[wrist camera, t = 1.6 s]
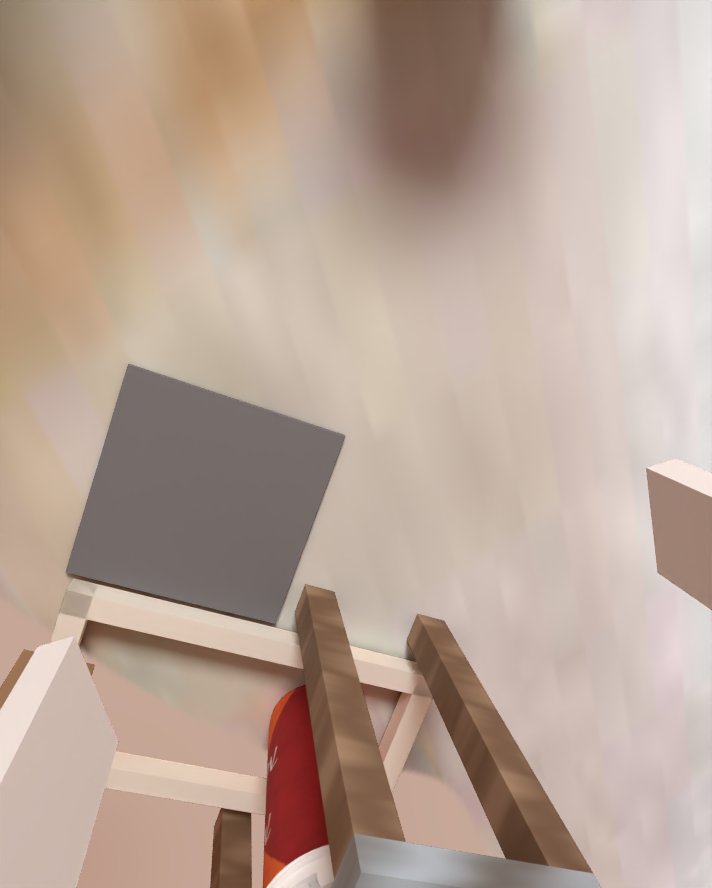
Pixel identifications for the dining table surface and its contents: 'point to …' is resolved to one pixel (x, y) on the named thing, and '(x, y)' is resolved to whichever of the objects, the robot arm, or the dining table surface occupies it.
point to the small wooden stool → (368, 791)
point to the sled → (235, 638)
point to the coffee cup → (294, 801)
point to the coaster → (202, 497)
